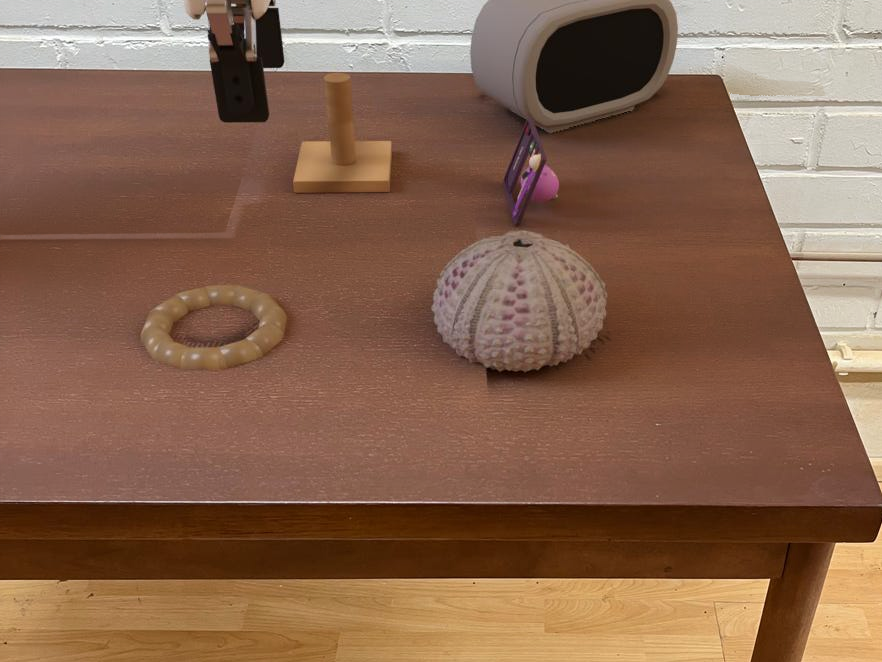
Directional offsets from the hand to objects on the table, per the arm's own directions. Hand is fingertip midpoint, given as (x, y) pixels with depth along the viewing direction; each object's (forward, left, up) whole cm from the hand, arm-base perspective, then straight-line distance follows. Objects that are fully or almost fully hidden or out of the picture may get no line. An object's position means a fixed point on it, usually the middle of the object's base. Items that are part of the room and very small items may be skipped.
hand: (254, 92), depth 70 cm
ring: (-5, -5, -16) cm, 17 cm away
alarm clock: (+27, +39, -17) cm, 51 cm away
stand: (+3, +24, -17) cm, 29 cm away
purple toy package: (+21, +17, -17) cm, 32 cm away
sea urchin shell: (+18, -5, -17) cm, 26 cm away
